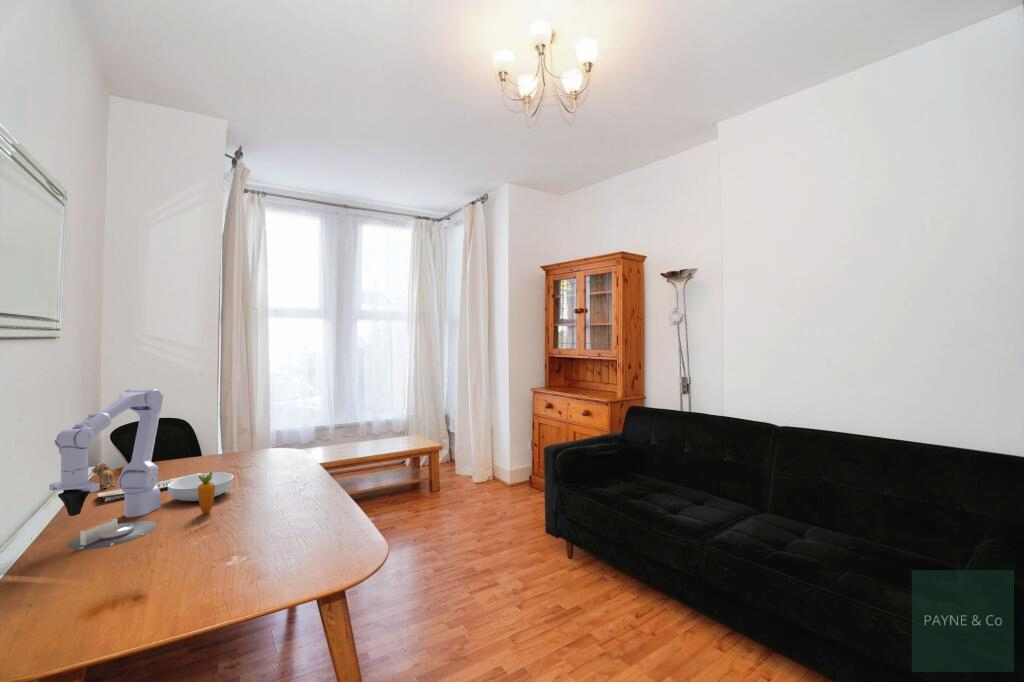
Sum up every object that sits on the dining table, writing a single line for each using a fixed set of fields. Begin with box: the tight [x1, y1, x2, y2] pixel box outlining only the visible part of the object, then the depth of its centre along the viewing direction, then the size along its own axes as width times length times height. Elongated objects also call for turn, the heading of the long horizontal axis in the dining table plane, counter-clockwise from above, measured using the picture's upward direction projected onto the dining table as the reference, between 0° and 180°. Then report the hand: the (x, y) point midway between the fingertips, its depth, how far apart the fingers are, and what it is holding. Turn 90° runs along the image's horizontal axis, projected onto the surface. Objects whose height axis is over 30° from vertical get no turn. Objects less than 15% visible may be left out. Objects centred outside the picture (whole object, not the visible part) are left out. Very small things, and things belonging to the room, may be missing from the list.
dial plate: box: [68, 520, 157, 551], centre depth 134 cm, size 20×20×1 cm
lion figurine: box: [91, 462, 116, 489], centre depth 183 cm, size 15×5×9 cm, turn 63°
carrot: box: [198, 471, 215, 515], centre depth 150 cm, size 5×5×15 cm
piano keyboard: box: [97, 472, 203, 503], centre depth 179 cm, size 35×12×4 cm, turn 144°
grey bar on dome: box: [79, 518, 134, 545], centre depth 132 cm, size 14×9×5 cm, turn 174°
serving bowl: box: [167, 472, 234, 502], centre depth 169 cm, size 21×21×7 cm
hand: (74, 514), depth 129 cm, fingers closed
